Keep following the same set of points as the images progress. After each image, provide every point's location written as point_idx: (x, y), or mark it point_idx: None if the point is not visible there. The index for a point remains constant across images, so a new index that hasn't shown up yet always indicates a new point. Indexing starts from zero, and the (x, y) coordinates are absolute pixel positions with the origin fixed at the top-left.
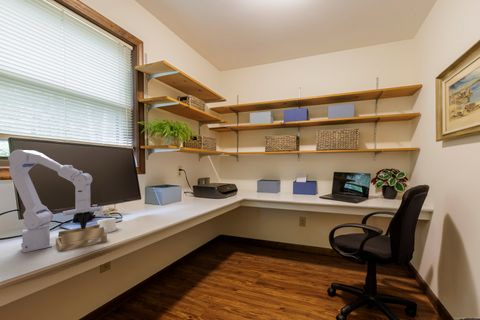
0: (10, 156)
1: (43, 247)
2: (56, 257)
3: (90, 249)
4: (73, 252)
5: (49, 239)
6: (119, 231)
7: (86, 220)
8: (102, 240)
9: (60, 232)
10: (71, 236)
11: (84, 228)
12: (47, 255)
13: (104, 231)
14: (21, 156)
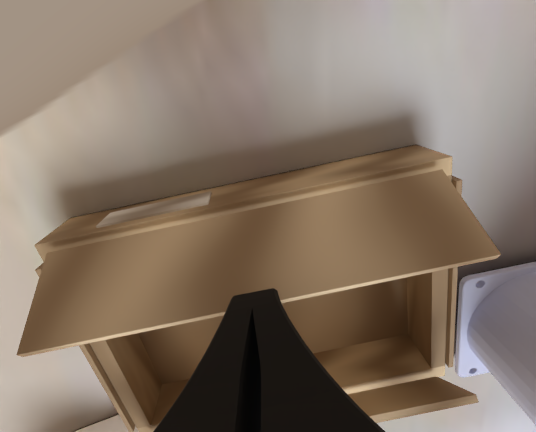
0: None
1: (511, 270)
2: (445, 20)
3: (185, 71)
4: (320, 76)
5: (498, 346)
6: (19, 412)
7: (186, 412)
8: (96, 219)
9: (455, 393)
10: (373, 235)
11: (240, 298)
12: (492, 126)
13: (123, 426)
14: None
